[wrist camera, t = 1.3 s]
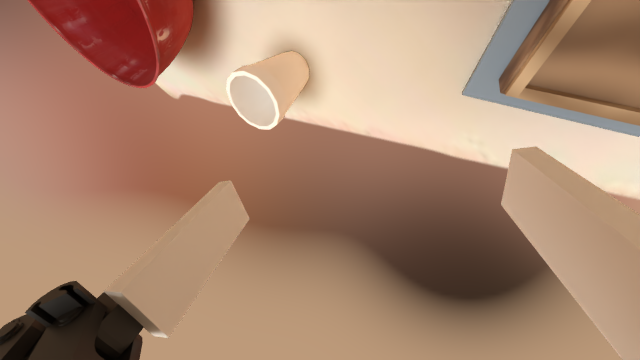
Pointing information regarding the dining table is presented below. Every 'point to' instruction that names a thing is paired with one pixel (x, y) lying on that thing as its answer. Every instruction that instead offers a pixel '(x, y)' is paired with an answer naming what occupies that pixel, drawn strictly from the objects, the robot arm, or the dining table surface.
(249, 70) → the foam cup
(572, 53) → the walnut block
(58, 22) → the mixing bowl
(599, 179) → the dining table surface
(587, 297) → the robot arm
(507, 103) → the board
